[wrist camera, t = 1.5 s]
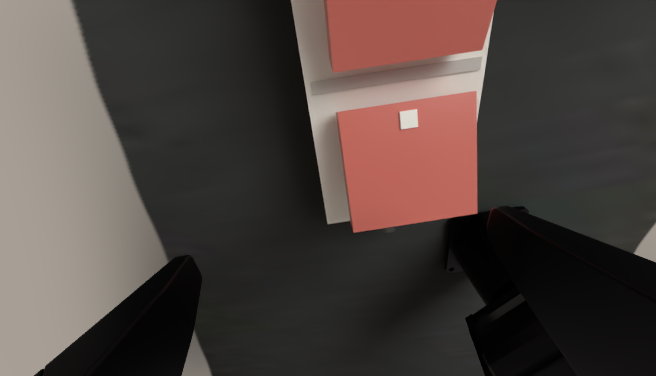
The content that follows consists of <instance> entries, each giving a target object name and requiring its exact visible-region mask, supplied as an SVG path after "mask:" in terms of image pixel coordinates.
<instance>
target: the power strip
mask: <svg viewBox="0 0 656 376" xmlns="http://www.w3.org/2000/svg"><path fill="white" fill-rule="evenodd" d="M291 4H292V10H293V16H294V22H295V29H296V35H297V41H298V47H299V53H300V59H301V65H302V71H303V77H304V83H305V89H306V95H307V102H308V108H309V114H310V120H311V126H312V132H313V138H314V144H315V150H316V156H317V162H318V168H319V175H320V181H321V187H322V193H323V199H324V205H325V211H326V217H327V223H328V224H333V223H339V222H346V221H350V217H349V209H348V202H347V194H346V187H345V180H344V172H343V165H342V158H341V150H340V143H339V135H338V128H337V121H336V113H335V112H340V111H346V110H353V109H359V108H366V107H372V106H379V105H385V104H392V103H399V102H405V101H412V100H418V99H425V98H431V97H438V96H444V95H451V94H457V93H464V92H472V91H477V118H478V112H479V105H480V99H481V92H482V85H483V79H484V72H485V66H486V59H487V53H488V46H489V39H490V33H491V26H492V20H493V15H492V19H491V22H490V26H489V29H488V32H487V36H486V39H485V43H484V46H483V49H482V50H480V51H473V52H467V53H460V54H454V55H447V56H440V57H434V58H427V59H421V60H414V61H408V62H401V63H394V64H388V65H381V66H375V67H368V68H361V69H355V70H348V71H342V72H335V73H333V71H332V67H331V64H330V60H329V52H328V41H327V31H326V20H325V10H324V0H291ZM493 13H494V12H493ZM396 229H397V226H394V227H387V228H381V230H382V231H383V232H386V233H392V232H394V231H396Z"/></svg>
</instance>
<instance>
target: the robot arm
mask: <svg viewBox="0 0 656 376" xmlns="http://www.w3.org/2000/svg"><path fill="white" fill-rule="evenodd" d="M528 213H529V211H528V210H527V209H526V208H525V207H523V206H521V207H514V208H512V207H509V206H500V207H495V208H492V210H491V211H488V212H482V213H477V214H471V215H465V216H458V217H454V218H452V219H451V221H450V227H449V235H448V243H447V251H446V259H445V270H446V272H447V273H456V272H463V271H464V272H465V274H466V275H467V277H468V278H469V280H470V281H471V283H472V284H473V286H474V287H475V289H476V291H477V292H478V294H479V295H480V297H481V298H482V300H483V301H484V303H485V304H486V306H485V307H483V308H482V309H480V310H479V311H478V312H476V313H475V314H473V315H472V314H471V315H469V316H468V317H466V318H465V319H466V322H467V325H468V327H469V332H470V335H471V338H472V340H473V343H474V346H475V349H476V352H477V354H478V357H479V360H480V363H481V366H482V368H483V371H484V374H485V376H656V262H653V261H651V260H648V259H645V258H643V257H640V256H637V255H635V254H632V253H630V252H627V251H624V250H622V249H619V248H617V247H614V246H611V245H609V244H606V243H604V242H601V241H598V240H596V239H593V238H590V237H588V236H585V235H583V234H580V233H577V232H575V231H572V230H570V229H567V228H564V227H562V226H559V225H556V224H554V223H551V222H549V221H546V220H543V219H541V218H538V217H536V216H533V215H530V214H528ZM457 222H458V223H457ZM201 284H202V276H201V273H200V271H199V269H198V267H197V265H196V263H195V261H194V259H193V258H192V257H191V256H190V255H184V256H178V257H175V258H174V259H172V260H171V261H170V262H169V263H168V264H166V265H165V266H164V267H163V268H162V269H160V270H159V271H158V272H157V273H156V274H154V275H153V276H152V277H151V278H150V279H149V280H147V281H146V282H145V283H144V284H143V285H141V286H140V287H139V288H138V289H137V290H135V291H134V292H133V293H132V294H131V295H130V296H129V297H127V298H126V299H125V300H123V301H122V302H121V303H120V304H119V305H118V306H117V307H115V308H114V309H113V310H112V311H110V312H109V313H108V314H107V315H106V316H105V317H103V318H102V319H101V320H100V321H99V322H98V323H96V324H95V325H94V326H93V327H91V328H90V329H89V330H88V331H87V332H85V334H83V335H82V336H81V337H79V338H78V339H77V340H76V341H75V342H73V343H72V344H71V345H70V346H69V347H68V348H66V349H65V350H64V351H63V352H62V353H61V354H59V355H58V356H57V357H56V358H54V359H53V360H52V361H51V362H50V363H49V364H47V365H46V366H45V369H42V370H40V371H39V372H38V373H37V374H35V375H34V376H181V375H182V371H183V368H184V364H185V361H186V357H187V353H188V350H189V346H190V343H191V339H192V335H193V331H194V326H195V320H196V314H197V308H198V302H199V296H200V290H201Z"/></svg>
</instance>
